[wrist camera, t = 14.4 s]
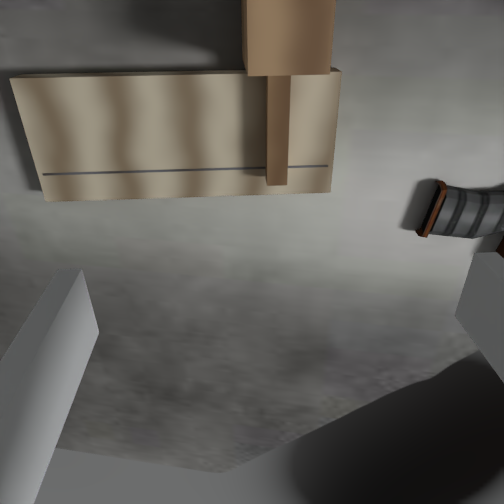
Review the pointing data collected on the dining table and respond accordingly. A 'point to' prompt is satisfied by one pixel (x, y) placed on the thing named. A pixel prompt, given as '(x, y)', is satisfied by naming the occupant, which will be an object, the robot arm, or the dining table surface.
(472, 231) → the tool
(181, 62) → the dining table surface
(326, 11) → the brown block with tab
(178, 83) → the board
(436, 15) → the dining table surface
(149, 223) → the dining table surface
